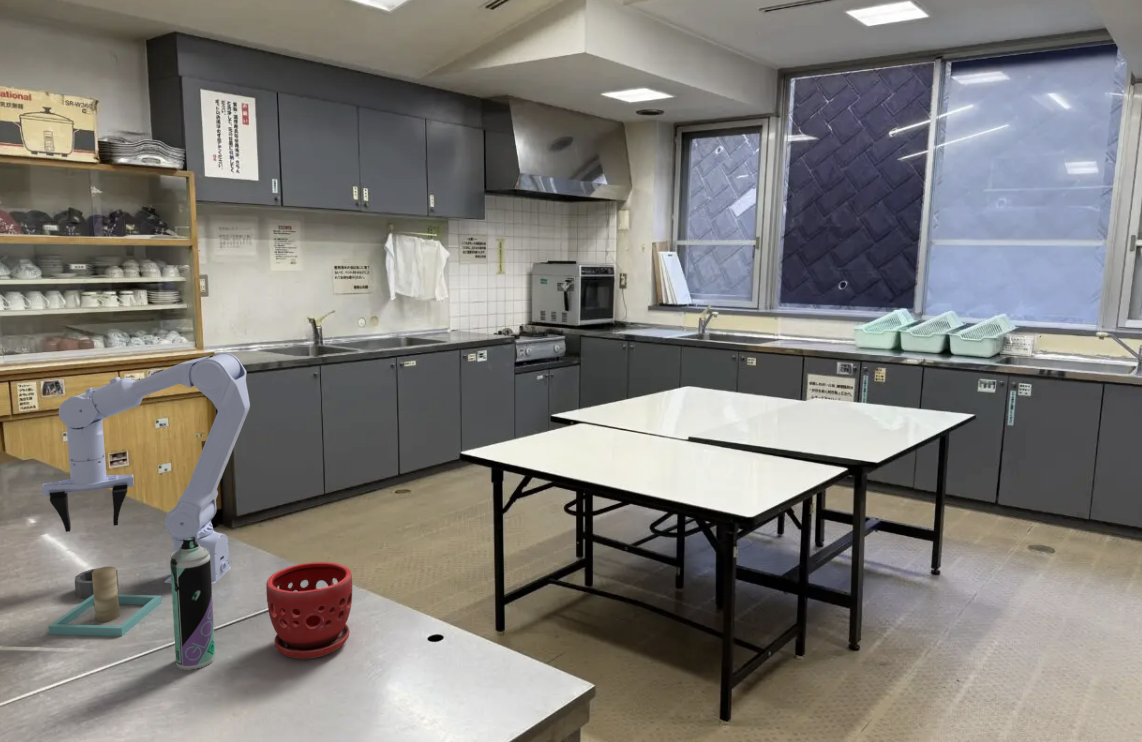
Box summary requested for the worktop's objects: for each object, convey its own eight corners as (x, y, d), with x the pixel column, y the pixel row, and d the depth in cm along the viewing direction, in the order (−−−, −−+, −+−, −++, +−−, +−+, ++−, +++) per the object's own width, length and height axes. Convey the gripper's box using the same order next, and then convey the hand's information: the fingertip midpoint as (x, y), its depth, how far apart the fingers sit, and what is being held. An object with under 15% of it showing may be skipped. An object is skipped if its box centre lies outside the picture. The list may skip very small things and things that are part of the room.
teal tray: (161, 605, 137) (161, 595, 137) (122, 638, 125) (121, 628, 125) (94, 603, 137) (94, 593, 137) (49, 636, 125) (48, 626, 125)
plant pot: (369, 633, 129) (368, 566, 127) (318, 673, 117) (316, 599, 115) (305, 619, 133) (303, 553, 131) (250, 655, 121) (247, 584, 119)
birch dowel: (122, 611, 133) (119, 565, 132) (115, 621, 130) (111, 574, 128) (100, 613, 132) (96, 567, 131) (92, 623, 129) (88, 576, 128)
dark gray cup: (126, 585, 144) (124, 568, 144) (104, 601, 138) (103, 583, 137) (91, 584, 144) (89, 567, 144) (67, 600, 138) (66, 582, 137)
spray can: (199, 672, 116) (192, 546, 113) (167, 667, 117) (160, 543, 114) (222, 654, 121) (217, 533, 118) (192, 649, 122) (185, 530, 119)
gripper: (131, 448, 150) (136, 514, 152) (42, 456, 143) (48, 525, 145) (131, 457, 144) (136, 526, 146) (38, 466, 137) (44, 538, 139)
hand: (92, 526), depth 145 cm, fingers open, 7 cm apart
